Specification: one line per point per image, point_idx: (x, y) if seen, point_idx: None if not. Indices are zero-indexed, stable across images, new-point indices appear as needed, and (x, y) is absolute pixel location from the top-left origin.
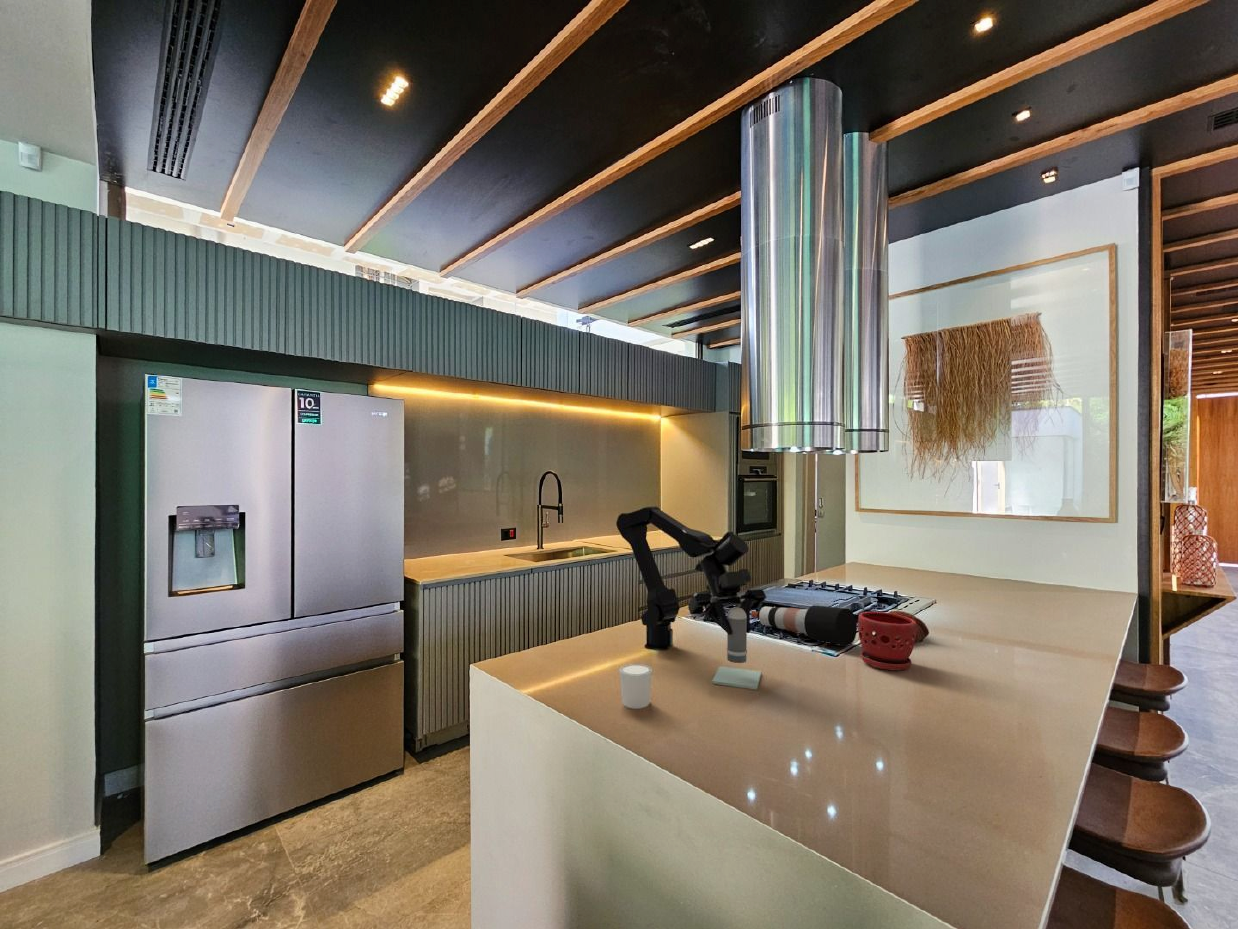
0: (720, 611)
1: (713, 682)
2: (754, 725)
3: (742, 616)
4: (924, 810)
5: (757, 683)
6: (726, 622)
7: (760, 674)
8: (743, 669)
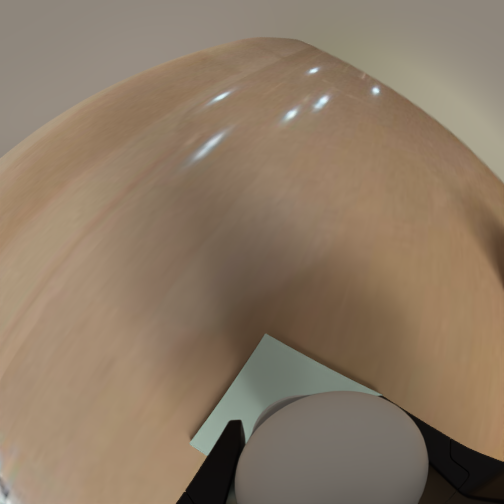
0: (490, 471)
1: (378, 393)
2: (342, 176)
3: (319, 395)
4: (238, 65)
5: (251, 356)
6: (423, 427)
7: (204, 423)
8: None
